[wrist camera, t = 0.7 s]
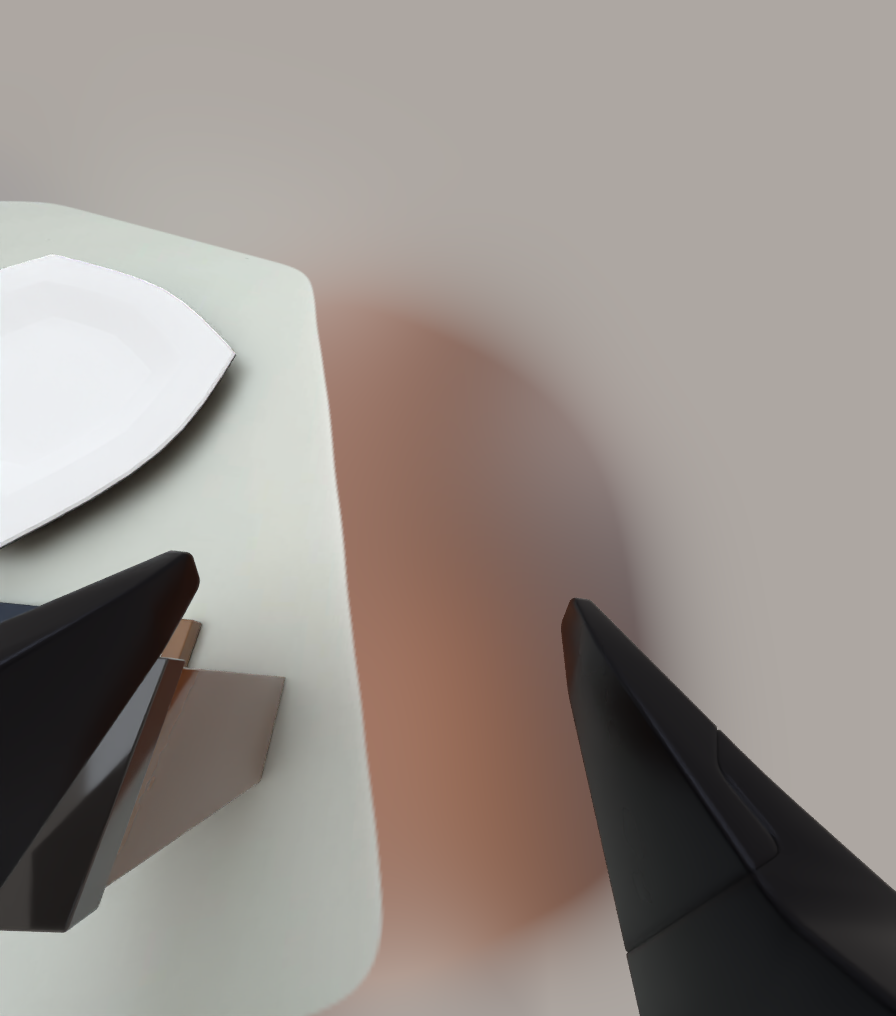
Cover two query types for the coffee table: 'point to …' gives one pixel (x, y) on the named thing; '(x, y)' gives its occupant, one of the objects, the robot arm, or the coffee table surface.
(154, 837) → the brown capped block
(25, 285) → the plate
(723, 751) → the robot arm
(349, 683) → the coffee table surface
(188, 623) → the stop
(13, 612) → the mat
